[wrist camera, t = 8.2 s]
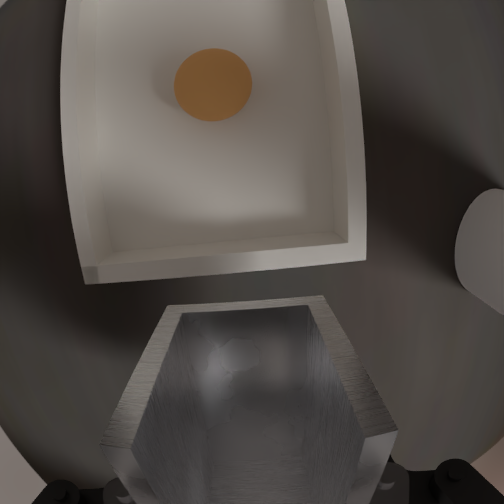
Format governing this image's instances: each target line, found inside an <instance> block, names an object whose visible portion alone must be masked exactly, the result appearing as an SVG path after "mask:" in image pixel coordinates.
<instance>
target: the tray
mask: <svg viewBox="0 0 504 504" xmlns="http://www.w3.org/2000/svg"><path fill="white" fill-rule="evenodd" d="M210 48H219V49H224V50H228V51H230V52H232V53H234V54H236V55H237V56H239V57H240V58H241V59H242V60H243V61H244V62H245V63H246V65H247V67H248V68H249V71H250V73H251V77H252V90H251V94H250V97H249V99H248V101H247V103H246V104H245V105H244V107H243V108H242V109H241V110H240V111H239V112H238V113H236V114H235V115H233V116H231V117H229V118H227V119H224V120H220V121H203V120H199V119H197V118H194V117H192V116H190V115H189V114H188V113H186V112H185V111H184V110H183V109H182V108H181V106H180V105H179V103H178V101H177V99H176V97H175V93H174V79H175V75H176V72H177V70H178V69H179V67H180V65H181V64H182V63H183V62H184V61H185V60H186V59H187V58H188V57H189V56H191V55H192V54H194V53H196V52H198V51H201V50H204V49H210ZM60 107H61V133H62V147H63V159H64V169H65V178H66V186H67V194H68V201H69V207H70V214H71V220H72V225H73V231H74V236H75V241H76V246H77V251H78V256H79V260H80V265H81V269H82V273H83V277H84V281H85V285H86V284H100V283H115V282H129V281H142V280H155V279H168V278H180V277H193V276H205V275H216V274H228V273H239V272H250V271H261V270H272V269H282V268H292V267H303V266H313V265H323V264H332V263H342V262H351V261H361V260H366V229H367V212H366V171H365V151H364V136H363V123H362V112H361V102H360V93H359V84H358V76H357V69H356V62H355V55H354V49H353V42H352V36H351V31H350V25H349V20H348V15H347V10H346V5H345V0H67V2H66V10H65V18H64V27H63V38H62V52H61V76H60Z"/></svg>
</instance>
